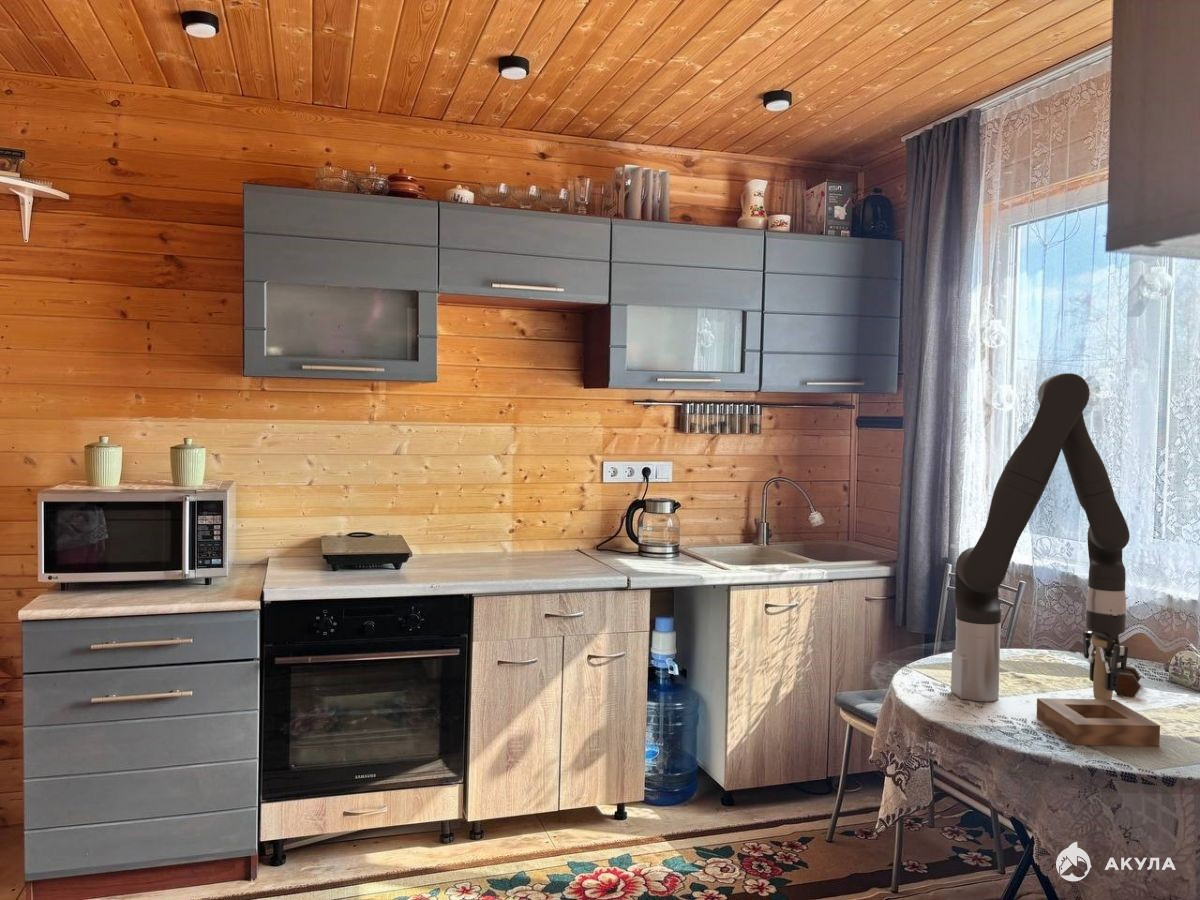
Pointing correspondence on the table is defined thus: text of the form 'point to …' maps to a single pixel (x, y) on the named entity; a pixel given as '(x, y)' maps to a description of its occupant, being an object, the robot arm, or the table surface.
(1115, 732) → the socket block
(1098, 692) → the handle
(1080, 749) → the table surface
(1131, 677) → the dark brown hexagonal dumbbell
